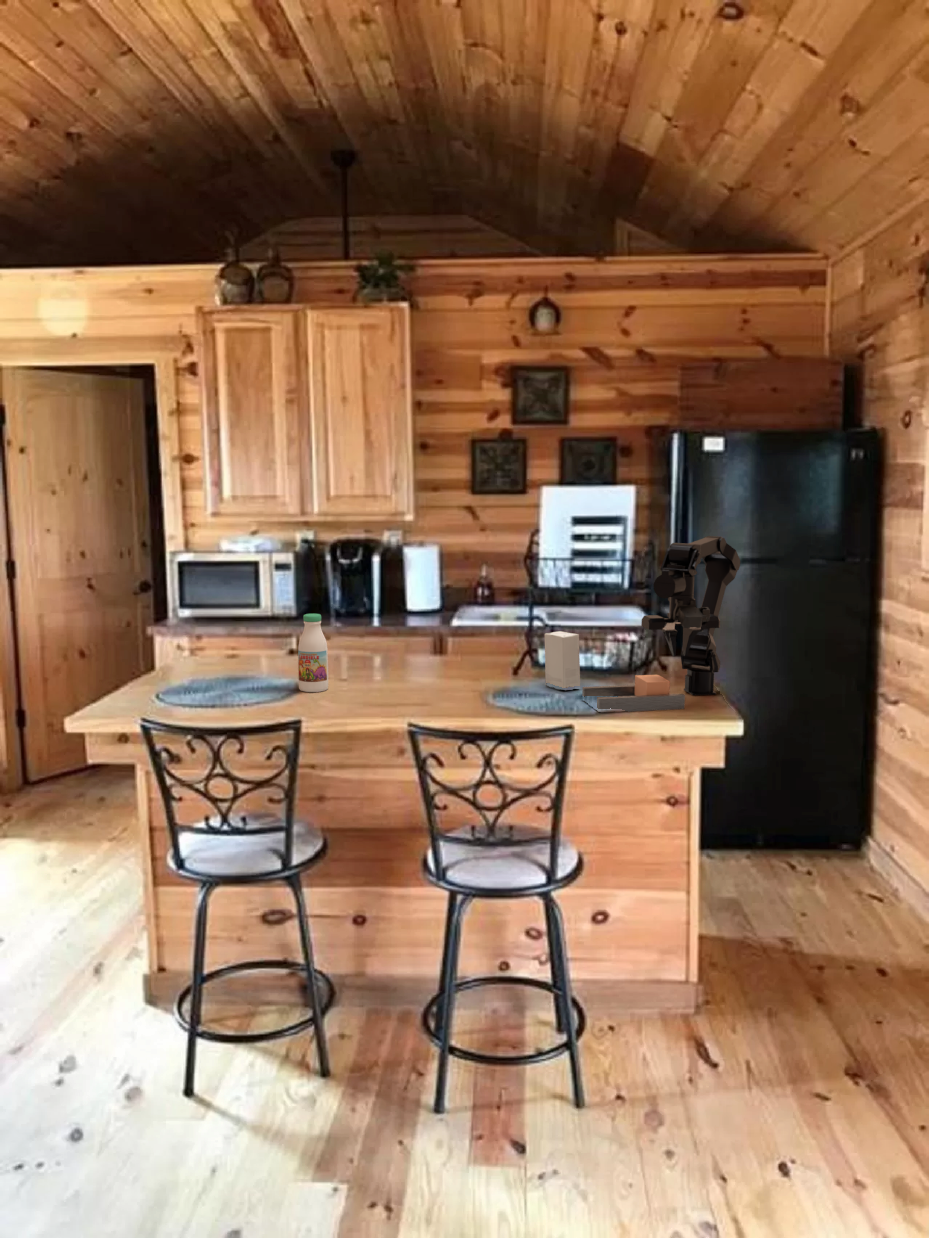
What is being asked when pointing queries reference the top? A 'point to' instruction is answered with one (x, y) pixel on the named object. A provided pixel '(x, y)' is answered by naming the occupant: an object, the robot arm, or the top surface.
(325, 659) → the milk bottle
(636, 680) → the block
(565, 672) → the skincare box
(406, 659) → the top surface
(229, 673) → the top surface
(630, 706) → the chute
